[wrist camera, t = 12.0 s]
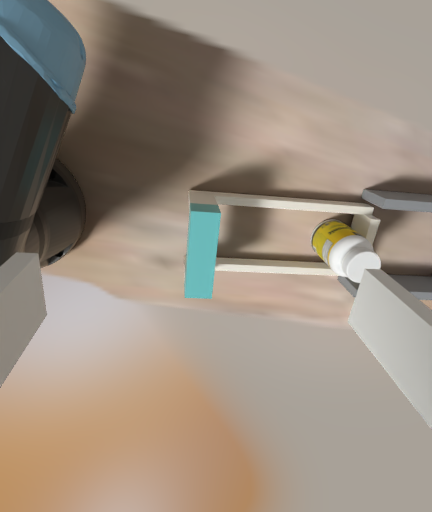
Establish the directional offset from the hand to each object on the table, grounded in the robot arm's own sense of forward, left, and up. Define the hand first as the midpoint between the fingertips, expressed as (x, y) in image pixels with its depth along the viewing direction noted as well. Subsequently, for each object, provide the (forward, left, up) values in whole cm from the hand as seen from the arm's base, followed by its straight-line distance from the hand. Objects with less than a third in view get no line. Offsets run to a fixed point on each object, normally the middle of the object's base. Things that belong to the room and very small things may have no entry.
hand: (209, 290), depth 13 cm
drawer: (+12, -8, -28) cm, 32 cm away
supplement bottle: (+20, -8, -29) cm, 36 cm away
